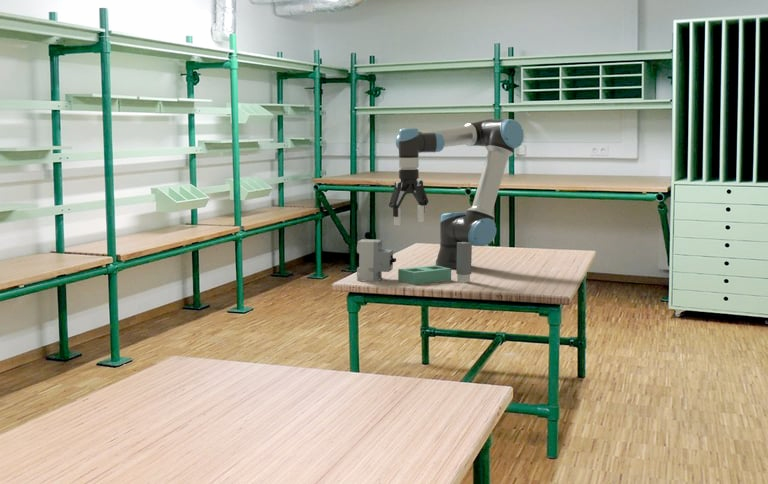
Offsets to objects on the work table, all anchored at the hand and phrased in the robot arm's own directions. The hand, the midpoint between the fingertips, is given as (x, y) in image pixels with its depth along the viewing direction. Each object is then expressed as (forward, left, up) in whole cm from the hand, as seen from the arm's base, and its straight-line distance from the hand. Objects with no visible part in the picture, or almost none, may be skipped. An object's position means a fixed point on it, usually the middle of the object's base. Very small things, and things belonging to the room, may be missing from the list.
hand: (409, 223), depth 333 cm
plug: (-13, +18, -21) cm, 31 cm away
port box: (-2, +8, -21) cm, 23 cm away
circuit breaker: (+12, -4, -22) cm, 25 cm away
